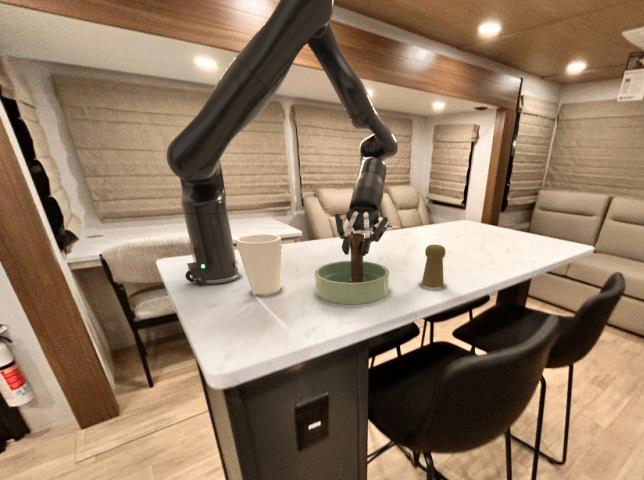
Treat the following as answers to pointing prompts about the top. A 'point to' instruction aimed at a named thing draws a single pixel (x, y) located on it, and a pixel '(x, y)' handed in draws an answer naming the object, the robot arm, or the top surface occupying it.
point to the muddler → (356, 258)
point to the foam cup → (261, 261)
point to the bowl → (340, 291)
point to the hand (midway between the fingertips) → (354, 253)
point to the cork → (434, 266)
